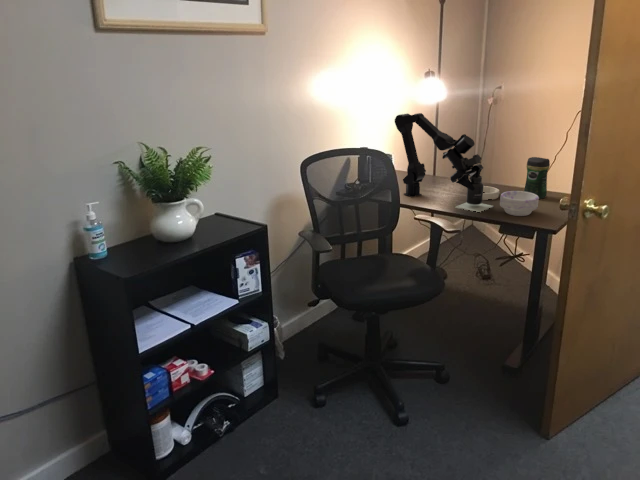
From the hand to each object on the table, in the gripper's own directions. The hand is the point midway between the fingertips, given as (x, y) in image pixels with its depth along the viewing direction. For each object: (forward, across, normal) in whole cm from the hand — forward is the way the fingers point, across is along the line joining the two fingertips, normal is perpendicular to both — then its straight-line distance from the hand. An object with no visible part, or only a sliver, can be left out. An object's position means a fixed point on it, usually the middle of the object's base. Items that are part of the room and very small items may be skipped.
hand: (477, 188), depth 229 cm
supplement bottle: (+4, 0, +6) cm, 7 cm away
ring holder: (+1, +20, +12) cm, 23 cm away
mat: (+6, 0, +7) cm, 9 cm away
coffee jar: (+14, +33, -2) cm, 36 cm away
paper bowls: (+18, +4, -6) cm, 20 cm away
